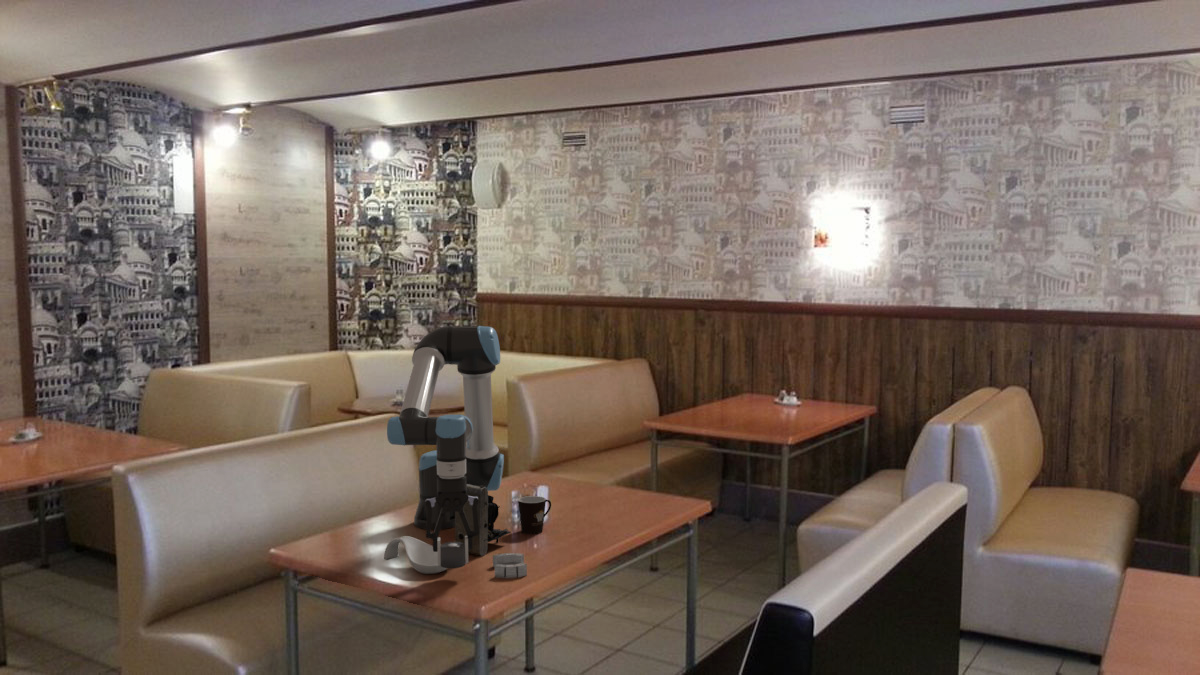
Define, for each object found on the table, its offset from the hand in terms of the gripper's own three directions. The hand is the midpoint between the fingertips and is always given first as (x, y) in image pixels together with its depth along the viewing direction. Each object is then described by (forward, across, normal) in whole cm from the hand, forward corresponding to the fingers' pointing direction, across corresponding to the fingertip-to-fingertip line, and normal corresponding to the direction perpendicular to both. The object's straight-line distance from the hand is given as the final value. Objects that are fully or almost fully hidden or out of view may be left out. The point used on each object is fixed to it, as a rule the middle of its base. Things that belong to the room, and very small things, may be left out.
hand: (453, 562), depth 236 cm
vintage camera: (+5, +9, +25) cm, 27 cm away
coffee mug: (+6, +26, +40) cm, 48 cm away
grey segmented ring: (+4, +15, +3) cm, 16 cm away
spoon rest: (+5, -10, +12) cm, 16 cm away
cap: (0, 0, -1) cm, 1 cm away
